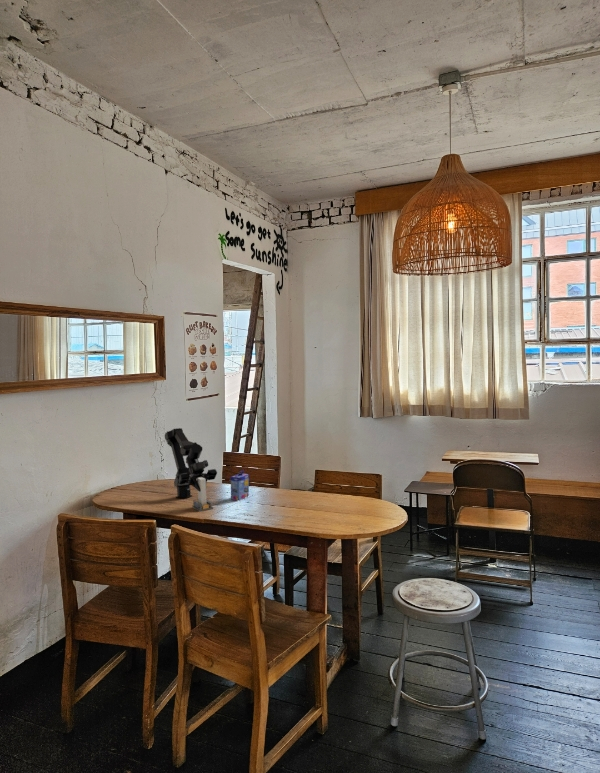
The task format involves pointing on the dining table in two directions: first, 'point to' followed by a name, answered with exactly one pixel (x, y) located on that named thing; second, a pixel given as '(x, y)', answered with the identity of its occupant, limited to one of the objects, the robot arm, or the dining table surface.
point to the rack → (202, 506)
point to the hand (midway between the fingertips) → (202, 490)
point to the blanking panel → (202, 491)
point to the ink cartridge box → (239, 486)
